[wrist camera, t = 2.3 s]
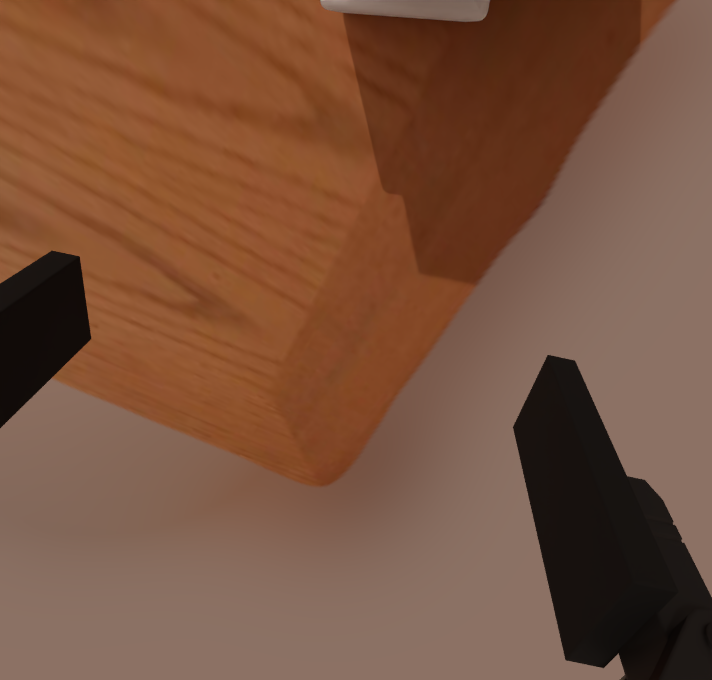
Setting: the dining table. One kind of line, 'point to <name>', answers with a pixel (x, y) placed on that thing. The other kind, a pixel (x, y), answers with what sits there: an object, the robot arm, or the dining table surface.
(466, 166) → the dining table surface
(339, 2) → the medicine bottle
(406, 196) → the dining table surface
